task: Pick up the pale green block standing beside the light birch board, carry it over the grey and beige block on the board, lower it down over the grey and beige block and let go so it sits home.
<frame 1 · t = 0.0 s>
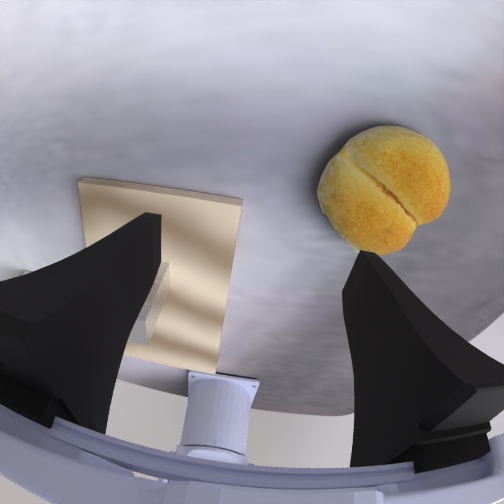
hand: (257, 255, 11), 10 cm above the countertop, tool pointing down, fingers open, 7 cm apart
board: (158, 291, 27), on the countertop
grey and beige block: (157, 265, 25), resting on board
bread roll: (380, 184, 20), on the countertop
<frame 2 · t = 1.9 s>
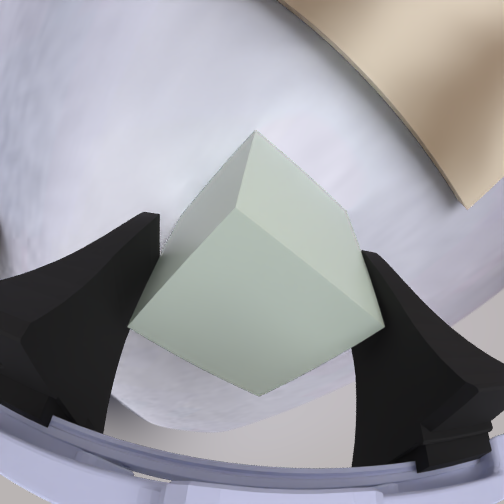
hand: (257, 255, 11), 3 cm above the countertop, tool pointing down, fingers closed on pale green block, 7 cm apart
pale green block: (261, 212, 14), on the countertop, touching gripper
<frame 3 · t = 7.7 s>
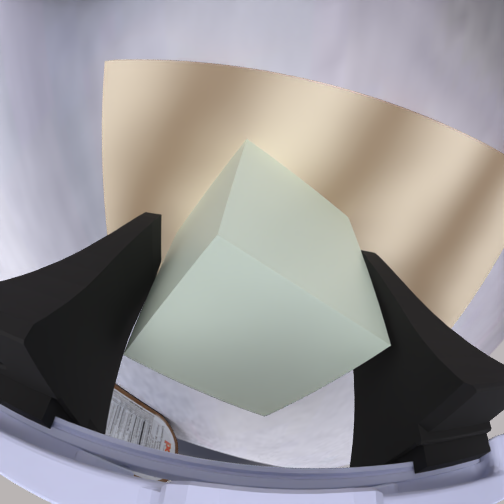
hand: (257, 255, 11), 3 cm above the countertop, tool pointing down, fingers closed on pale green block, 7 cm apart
board: (327, 223, 14), on the countertop
tin: (125, 392, 26), on the countertop
pale green block: (260, 224, 13), point 1 cm above the countertop, touching board, gripper, grey and beige block
when the fingers open (3 cm above the countertop, at t = 7.7 s): pale green block stays where it is, resting on board, grey and beige block.
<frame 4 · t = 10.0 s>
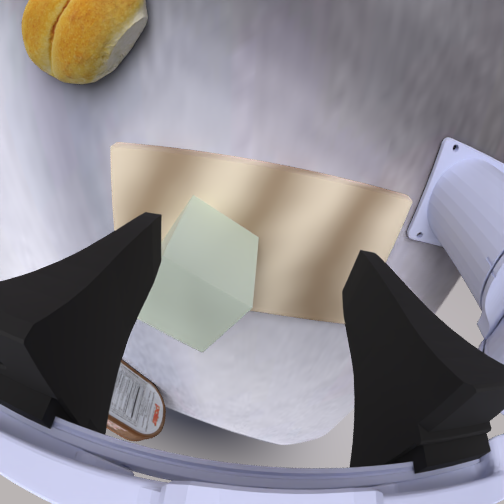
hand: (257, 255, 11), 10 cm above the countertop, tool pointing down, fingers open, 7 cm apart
board: (250, 240, 23), on the countertop
tin: (125, 364, 35), on the countertop
pale green block: (206, 242, 22), point 1 cm above the countertop, touching board, grey and beige block
bread roll: (92, 19, 14), on the countertop
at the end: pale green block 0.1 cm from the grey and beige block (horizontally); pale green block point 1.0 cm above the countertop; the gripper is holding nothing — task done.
